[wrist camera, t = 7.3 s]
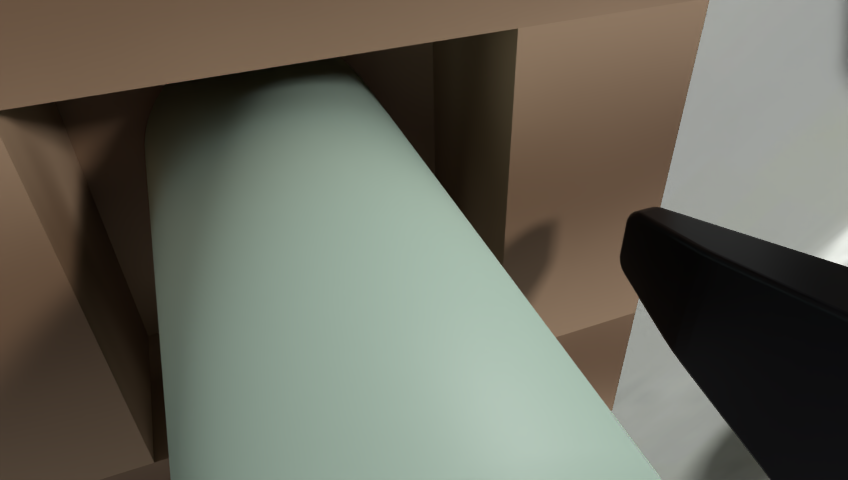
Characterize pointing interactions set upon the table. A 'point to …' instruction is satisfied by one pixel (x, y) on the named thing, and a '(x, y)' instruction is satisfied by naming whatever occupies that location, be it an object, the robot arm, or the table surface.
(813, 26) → the table surface
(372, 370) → the sage peg
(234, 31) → the walnut socket
